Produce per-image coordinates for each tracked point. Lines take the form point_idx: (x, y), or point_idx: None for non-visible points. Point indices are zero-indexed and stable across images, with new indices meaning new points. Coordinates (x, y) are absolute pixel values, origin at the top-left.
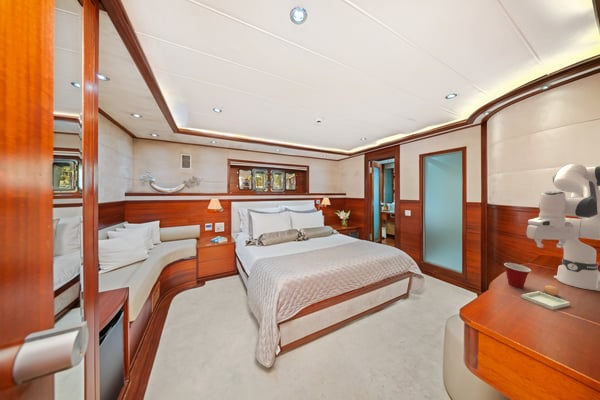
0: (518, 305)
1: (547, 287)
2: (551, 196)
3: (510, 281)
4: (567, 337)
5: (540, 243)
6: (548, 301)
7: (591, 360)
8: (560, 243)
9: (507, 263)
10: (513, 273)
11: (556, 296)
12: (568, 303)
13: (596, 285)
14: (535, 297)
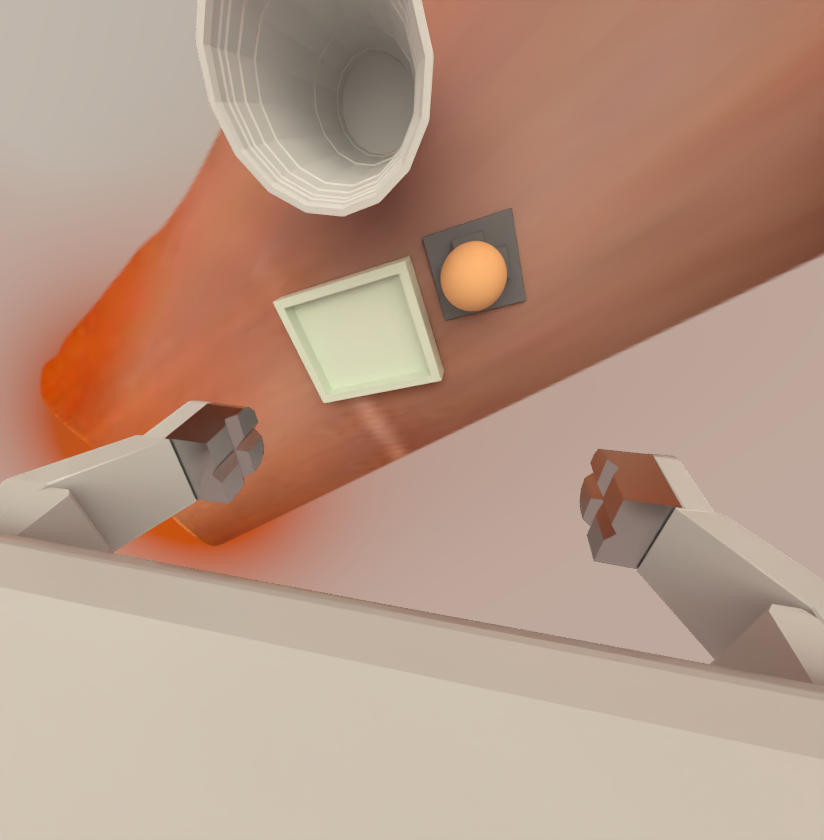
0: (229, 354)
1: (445, 282)
2: None
3: (319, 110)
4: (254, 489)
5: (152, 510)
6: (377, 341)
7: (242, 531)
8: (679, 568)
9: None
10: (277, 143)
11: None
12: (430, 381)
13: None
14: (349, 302)
